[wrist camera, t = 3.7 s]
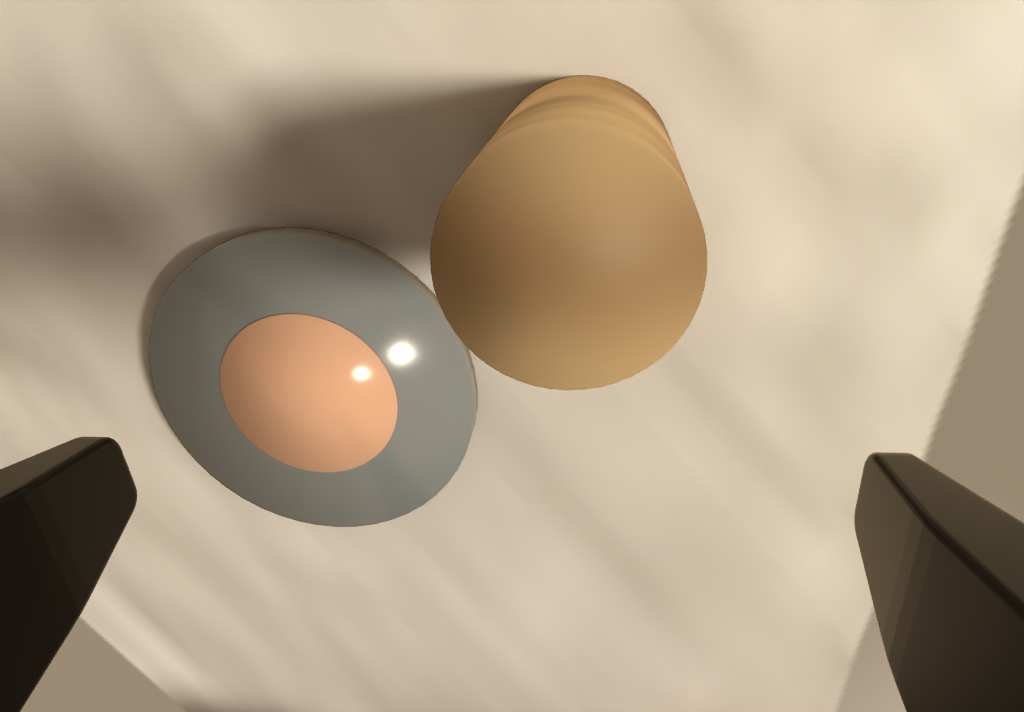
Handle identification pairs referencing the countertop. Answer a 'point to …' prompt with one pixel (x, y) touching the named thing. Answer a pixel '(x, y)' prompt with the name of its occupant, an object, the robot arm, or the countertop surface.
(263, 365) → the coaster
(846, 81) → the countertop surface
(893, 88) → the countertop surface
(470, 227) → the oak canister
